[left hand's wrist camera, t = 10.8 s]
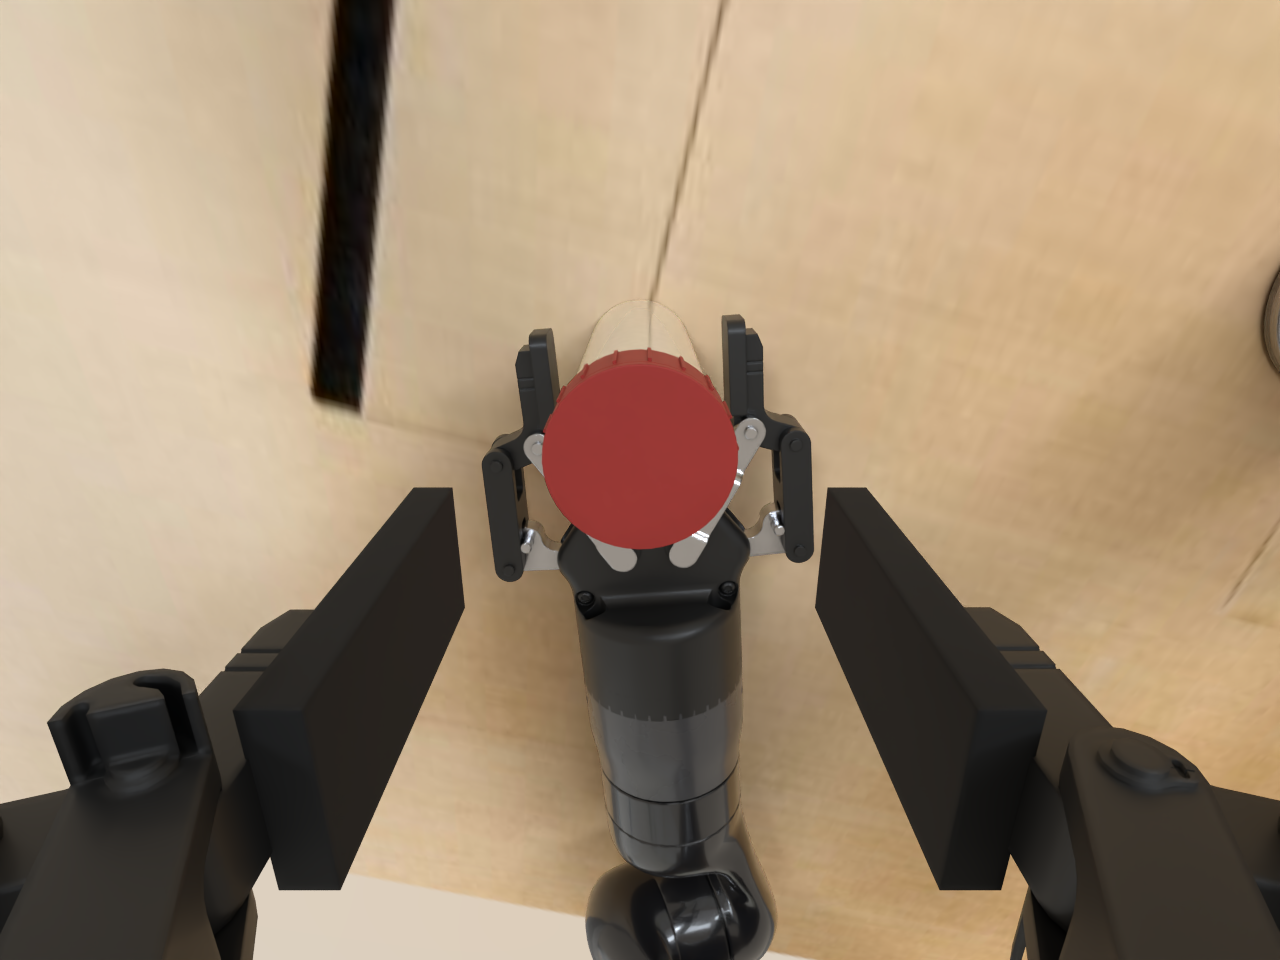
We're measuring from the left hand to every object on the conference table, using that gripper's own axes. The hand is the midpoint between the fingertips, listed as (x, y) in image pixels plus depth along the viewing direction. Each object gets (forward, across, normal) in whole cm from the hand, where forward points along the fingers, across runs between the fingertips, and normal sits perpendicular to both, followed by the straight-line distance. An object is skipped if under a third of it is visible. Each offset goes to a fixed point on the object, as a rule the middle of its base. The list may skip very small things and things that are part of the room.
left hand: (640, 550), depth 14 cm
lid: (+6, 0, 0) cm, 6 cm away
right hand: (+15, 0, -2) cm, 15 cm away
